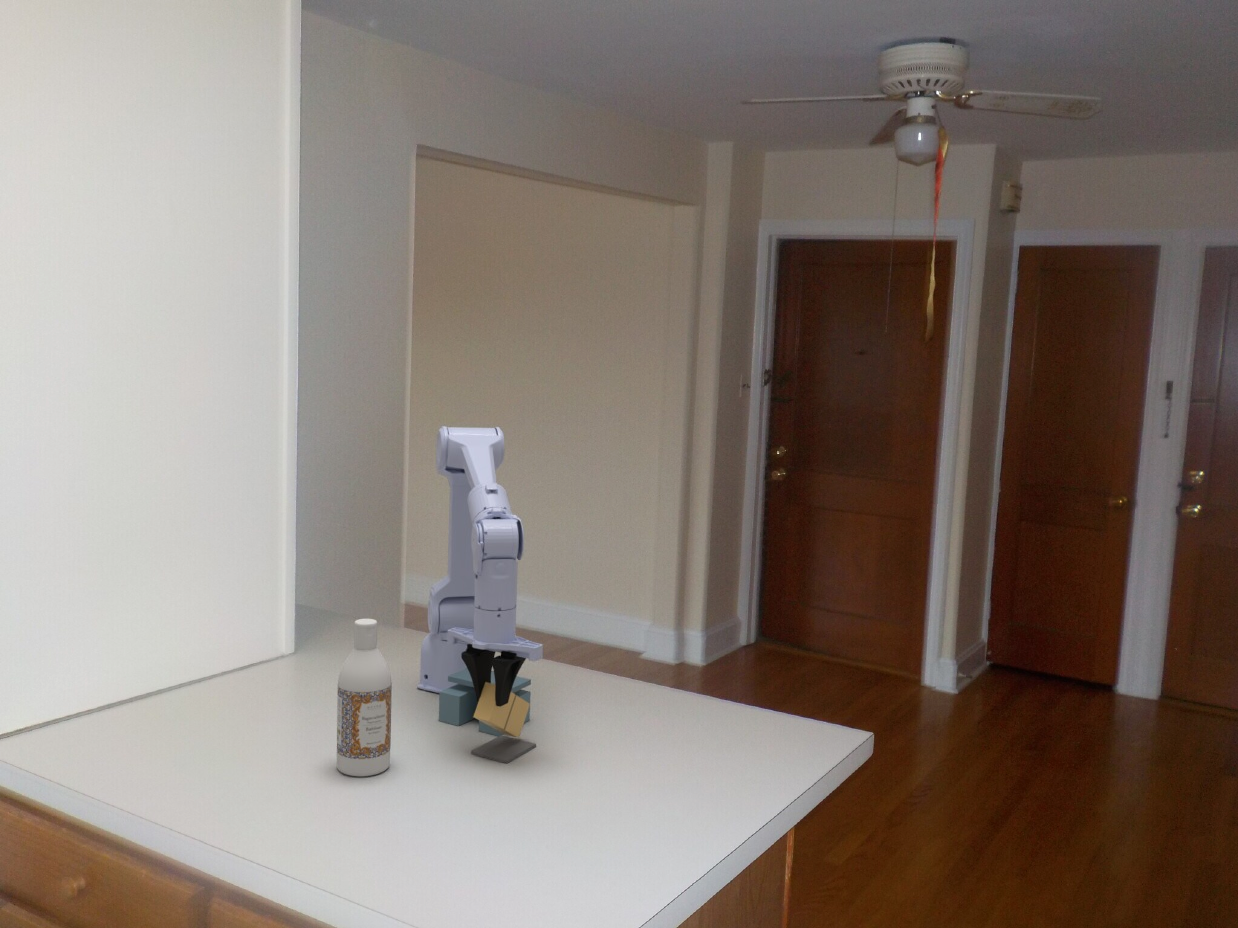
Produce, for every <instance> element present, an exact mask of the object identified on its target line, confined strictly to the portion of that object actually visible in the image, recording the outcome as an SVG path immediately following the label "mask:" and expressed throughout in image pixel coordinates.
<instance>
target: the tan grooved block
mask: <svg viewBox="0 0 1238 928" xmlns="http://www.w3.org/2000/svg"><path fill="white" fill-rule="evenodd" d="M529 706H530V707H531V703H530V704H529V703H528V702H526V701H525V700H523V699H521V698H520V697H518V696H517V695H515V694H514V693H512V692H511V693H510V697H509V701H508V703H507V704H505V705H503V706H501V707H499V706H496V702H495V684H492V683H488V682H485V685H484V688H483V690H482V693H481V697H480V699H479V702H478V705H477V708H476V710H475V713H474V716H473V717H474V719H476V720H478V722H479V721H481V722H483V723H485V724H487V725H488V726H490V727H492V728H494V729H495V730H497V731H499V732H501V733H503V735H504V736H508V737H512V738H516V739H519V738H520V736H521V732H522V729H523V727H524V724H525V723H524V721H525V718H526V715H527V712H528V709H529Z"/></svg>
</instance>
